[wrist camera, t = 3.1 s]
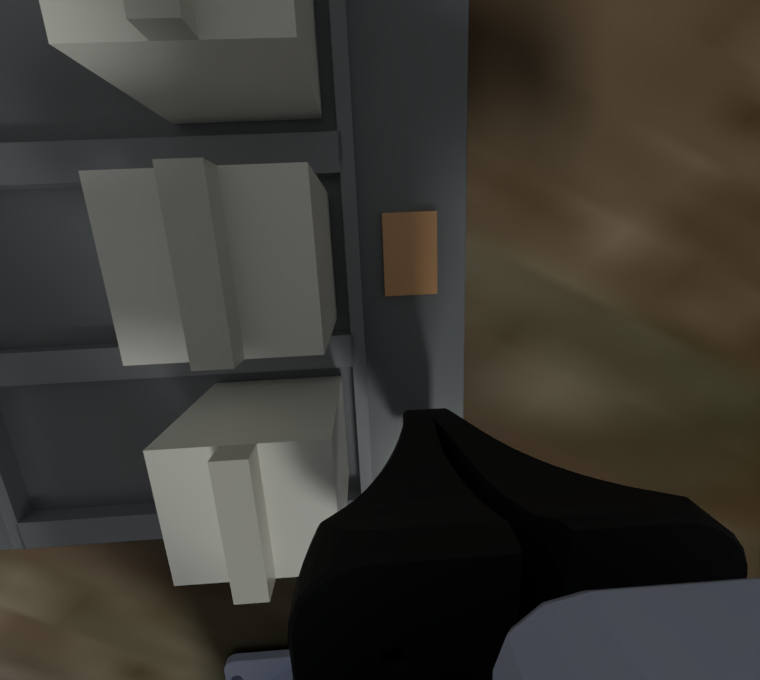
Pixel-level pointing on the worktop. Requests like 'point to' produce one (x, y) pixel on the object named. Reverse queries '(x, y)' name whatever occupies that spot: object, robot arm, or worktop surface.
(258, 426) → the grey ridged block
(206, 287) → the grey ridged block
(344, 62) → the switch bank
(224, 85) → the grey ridged block
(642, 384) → the worktop surface
